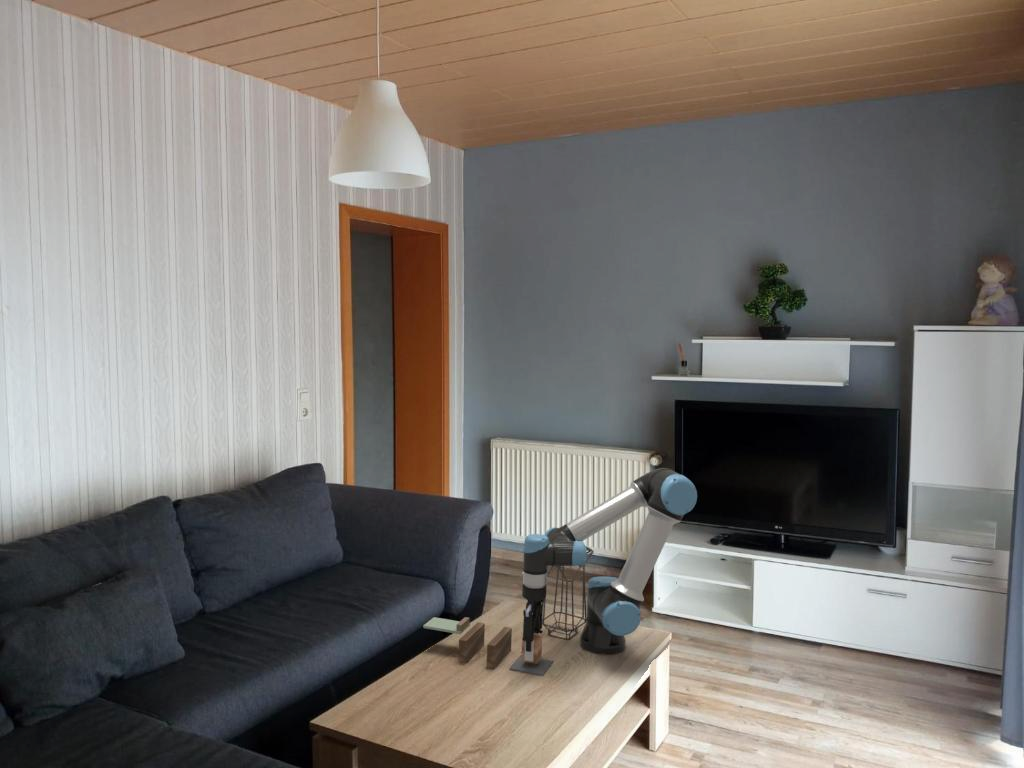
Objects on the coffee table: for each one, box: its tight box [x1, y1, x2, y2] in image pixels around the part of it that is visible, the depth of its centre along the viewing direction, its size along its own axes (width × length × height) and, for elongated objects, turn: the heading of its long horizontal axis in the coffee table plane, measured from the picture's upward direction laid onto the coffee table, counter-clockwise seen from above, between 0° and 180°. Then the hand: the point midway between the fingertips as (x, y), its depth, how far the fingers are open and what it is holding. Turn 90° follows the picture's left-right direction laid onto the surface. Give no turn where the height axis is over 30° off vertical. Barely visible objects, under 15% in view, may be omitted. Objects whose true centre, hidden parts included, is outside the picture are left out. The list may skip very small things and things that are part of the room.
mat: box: [508, 654, 554, 677], centre depth 257 cm, size 11×11×1 cm
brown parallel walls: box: [457, 621, 513, 670], centre depth 263 cm, size 12×16×8 cm
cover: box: [422, 616, 471, 635], centre depth 267 cm, size 13×8×3 cm, turn 71°
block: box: [521, 635, 543, 664], centre depth 257 cm, size 5×5×7 cm
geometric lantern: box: [542, 545, 595, 640], centre depth 282 cm, size 16×16×35 cm
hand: (531, 656), depth 257 cm, fingers closed on block, 5 cm apart
